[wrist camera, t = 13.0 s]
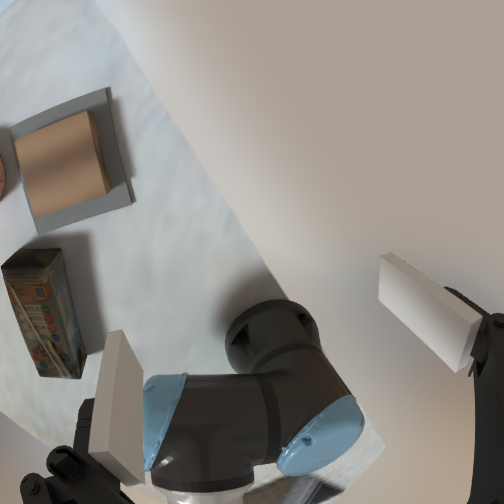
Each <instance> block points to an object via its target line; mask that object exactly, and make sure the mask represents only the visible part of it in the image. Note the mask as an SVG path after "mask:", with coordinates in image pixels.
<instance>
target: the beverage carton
mask: <svg viewBox="0 0 504 504" xmlns="http://www.w3.org/2000/svg"><path fill="white" fill-rule="evenodd" d="M1 270H2V273H3V278H4V282H5V285H6V289H7V292H8V295H9V298H10V302H11V305H12V308H13V311H14V313H15V316H16V319H17V322H18V324H19V327H20V330H21V333H22V335H23V338H24V340H25V343H26V345H27V348H28V350H29V352H30V355H31V357H32V359H33V361H34V363H35V366H36V369H37V371H38V373H39V375H40V376H41V377H51V378H64V379H81V377H82V373H83V369H84V366H85V363H86V358H87V354H86V351H85V347H84V344H83V341H82V338H81V334H80V330H79V327H78V324H77V320H76V316H75V312H74V308H73V304H72V300H71V296H70V291H69V287H68V282H67V278H66V273H65V268H64V264H63V258H62V253H61V249H60V248H59V249H19V250H18V251H17V252H15V253H14V254H13V255H12V256H11V257H10V258H9V259H8V260H7V261H5V263H4V264H3V265H2V266H1Z"/></svg>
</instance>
